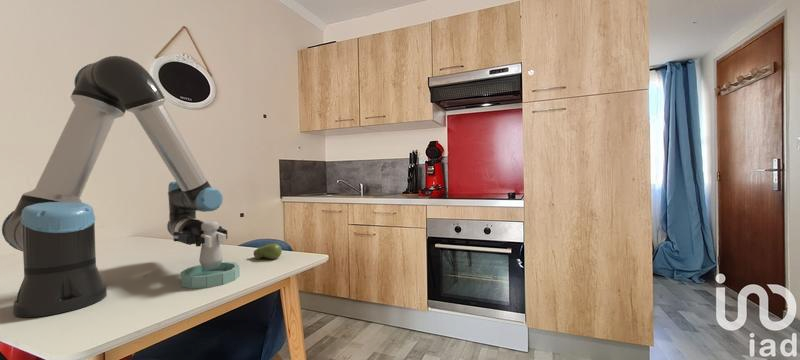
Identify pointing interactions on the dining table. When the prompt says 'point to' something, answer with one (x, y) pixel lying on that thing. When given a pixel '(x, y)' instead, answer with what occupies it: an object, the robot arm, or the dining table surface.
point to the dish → (209, 275)
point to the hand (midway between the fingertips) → (217, 240)
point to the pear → (268, 251)
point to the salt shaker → (211, 255)
